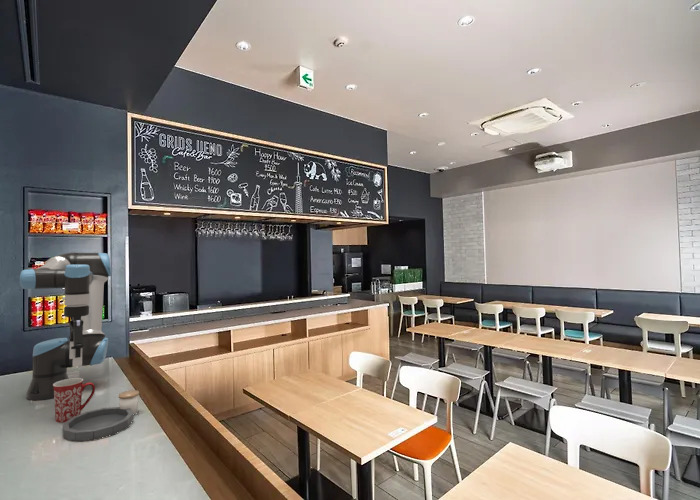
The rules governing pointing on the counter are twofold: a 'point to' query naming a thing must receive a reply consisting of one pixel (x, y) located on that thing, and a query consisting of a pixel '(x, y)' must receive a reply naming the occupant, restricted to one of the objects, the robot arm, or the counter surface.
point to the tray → (97, 424)
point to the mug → (69, 398)
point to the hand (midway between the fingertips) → (75, 362)
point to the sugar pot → (129, 400)
